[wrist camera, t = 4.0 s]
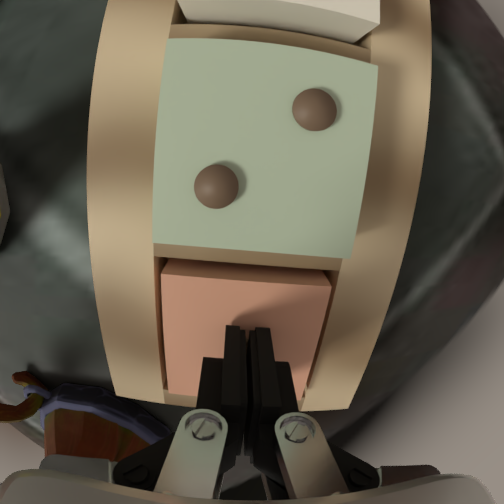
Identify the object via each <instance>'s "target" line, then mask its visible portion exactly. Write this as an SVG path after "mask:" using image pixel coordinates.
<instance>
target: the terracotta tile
mask: <svg viewBox="0 0 504 504" xmlns="http://www.w3.org/2000/svg"><path fill="white" fill-rule="evenodd" d="M331 288H332V286H331V284H330V283H329V281H328V279H327V277H326V276H325V274H324V272H323V271H322V270H321V269H308V268H294V267H281V266H267V265H255V264H242V263H229V262H217V261H205V260H193V259H181V258H169V260H168V262H167V263H166V265H165V267H164V269H163V271H162V273H161V293H162V316H163V333H164V347H165V360H166V371H167V381H168V391H169V393H171V394H180V395H188V396H198V389H199V382H200V375H201V368H202V361H203V357H212V358H224V344H225V329H226V325H234V326H240V330H245V332H246V355H247V347H248V339H249V331H250V330H253V331H255V327H265V328H270V331H271V337H272V344H273V351H274V357H275V361H284V362H289V364H290V369H291V374H292V378H293V383H294V388H295V393H296V398H297V401H299V400H301V398H302V395H303V391H304V388H305V385H306V382H307V378H308V375H309V372H310V368H311V365H312V361H313V358H314V354H315V351H316V347H317V343H318V340H319V336H320V332H321V328H322V325H323V321H324V317H325V313H326V309H327V305H328V301H329V296H330V292H331Z"/></svg>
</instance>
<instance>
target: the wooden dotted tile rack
mask: <svg viewBox="0 0 504 504" xmlns="http://www.w3.org/2000/svg"><path fill="white" fill-rule="evenodd" d="M170 38H209V39H230V40H244V41H255V42H264V43H272V44H280V45H287V46H293V47H299V48H305V49H310V50H316V51H321V52H325V53H330V54H335V55H339V56H343V57H347V58H351V59H355V60H359V61H363V62H366V63H370V64H373V65H377V66H378V77H377V90H376V102H375V112H374V121H373V130H372V138H371V146H370V153H369V161H368V167H367V174H366V180H365V186H364V192H363V198H362V204H361V209H360V215H359V220H358V225H357V230H356V235H355V240H354V245H353V249H352V254H351V258H350V259H344V258H332V257H320V256H308V255H296V254H283V253H271V252H259V251H247V250H234V249H222V248H210V247H197V246H185V245H173V244H160V243H152V205H153V173H154V154H155V139H156V126H157V114H158V104H159V95H160V86H161V78H162V70H163V63H164V56H165V49H166V43H167V39H170ZM431 59H432V43H431V15H430V0H380V24H379V25H378V26H377V27H375V28H374V29H372V30H371V31H369V32H368V33H367V34H365V35H364V36H362V37H361V38H360V39H358V40H357V41H356V42H354V43H353V44H351V43H347V42H343V41H339V40H335V39H331V38H326V37H321V36H317V35H311V34H306V33H301V32H295V31H288V30H282V29H274V28H266V27H257V26H247V25H233V24H212V23H188V22H187V20H186V17H185V15H184V13H183V11H182V9H181V7H180V5H179V3H178V1H177V0H108V4H107V8H106V12H105V16H104V20H103V25H102V30H101V35H100V40H99V45H98V50H97V56H96V63H95V69H94V76H93V84H92V92H91V102H90V113H89V126H88V144H87V211H88V230H89V244H90V255H91V265H92V274H93V282H94V290H95V297H96V303H97V310H98V316H99V321H100V327H101V332H102V337H103V342H104V347H105V352H106V356H107V361H108V365H109V369H110V374H111V378H112V381H113V385H114V389H115V393H116V396H121V397H126V398H132V399H137V400H143V401H150V402H156V403H163V404H170V405H178V406H187V407H196V404H197V396H188V395H180V394H171V393H169V391H168V381H167V371H166V360H165V347H164V333H163V316H162V293H161V273H162V271H163V269H164V267H165V265H166V263H167V262H168V260H169V258H181V259H193V260H205V261H217V262H229V263H242V264H255V265H267V266H281V267H294V268H308V269H321V270H322V271H323V272H324V274H325V276H326V277H327V279H328V281H329V283H330V284H331V286H332V288H331V292H330V296H329V301H328V305H327V309H326V313H325V317H324V321H323V325H322V328H321V332H320V336H319V340H318V343H317V347H316V351H315V354H314V358H313V361H312V365H311V368H310V372H309V375H308V378H307V382H306V385H305V388H304V391H303V395H302V398H301V400H299V401H297V403H298V409H299V411H320V410H337V409H348V407H349V405H350V403H351V401H352V398H353V396H354V394H355V392H356V390H357V387H358V385H359V383H360V380H361V378H362V376H363V373H364V371H365V369H366V366H367V364H368V361H369V359H370V356H371V354H372V351H373V348H374V346H375V343H376V341H377V338H378V335H379V332H380V330H381V327H382V324H383V321H384V318H385V315H386V312H387V309H388V306H389V303H390V300H391V297H392V294H393V291H394V287H395V284H396V281H397V277H398V274H399V270H400V267H401V263H402V260H403V256H404V252H405V248H406V244H407V240H408V236H409V232H410V228H411V223H412V219H413V214H414V209H415V205H416V200H417V194H418V189H419V183H420V178H421V172H422V165H423V159H424V152H425V144H426V136H427V127H428V117H429V105H430V89H431Z"/></svg>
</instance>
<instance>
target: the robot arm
mask: <svg viewBox="0 0 504 504" xmlns="http://www.w3.org/2000/svg"><path fill="white" fill-rule="evenodd" d="M243 434H244V454H245V456H250V463H253V464H254V467H256V468H257V469H258V470H260V471H261V473H262V480H263V484H264V487H265V491H266V495H267V499H268V501H238V500H236V501H235V500H218V499H219V495H220V490H221V486H222V481H223V477H224V473H225V472H226V471H228V470H229V469H230V468H232V467H233V466H235V460H236V455H240V453H241V446H242V440H243ZM0 504H496V502H495V500H494V498H493V497H492V495H491V493H490V492H489V490H488V489H487V487H486V486H485V485H484V484H483V483H482V482H481V481H480V480H479V479H477V478H475V477H473V476H470V475H464V474H440V472H439V470H437V468H435V467H433V466H431V465H409V466H381V467H380V468H374V467H373V466H371V465H370V464H368V463H366V462H364V461H362V460H361V459H359V458H357V457H355V456H353V455H351V454H350V453H348V452H346V451H344V450H342V449H341V448H339V447H337V446H335V445H334V444H332V443H330V442H329V441H327V440H326V439H325V437H324V434H323V432H322V430H321V428H320V425H319V424H318V422H317V421H316V420H315V419H314V418H312V417H311V416H309V415H307V414H304V413H299V409H298V403H297V398H296V393H295V388H294V383H293V378H292V374H291V369H290V364H289V362H284V361H275V357H274V351H273V344H272V337H271V331H270V328H265V327H255V331H253V330H250V331H249V339H248V347H247V355H246V332H245V330H240V326H234V325H226V329H225V344H224V358H212V357H203V361H202V368H201V375H200V382H199V389H198V396H197V404H196V410H193V411H190V412H188V413H187V414H185V415H184V416H183V417H182V419H181V421H180V423H179V426H178V428H177V431H176V432H174V433H172V434H170V435H169V436H167V437H165V438H163V439H161V440H159V441H157V442H155V443H154V444H152V445H150V446H148V447H146V448H144V449H142V450H140V451H138V452H136V453H134V454H132V455H130V456H128V457H125V458H123V459H122V460H120V461H119V462H110V461H109V459H99V458H86V457H76V456H67V455H59V454H53V455H49V456H47V457H45V458H44V459H43V460H42V461H41V464H40V467H39V469H28V470H21V471H17V472H14V473H12V474H11V475H9V476H8V477H7V478H6V479H5V480H4V481H3V482H2V484H1V485H0Z"/></svg>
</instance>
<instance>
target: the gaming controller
mask: <svg viewBox="0 0 504 504" xmlns="http://www.w3.org/2000/svg"><path fill="white" fill-rule="evenodd" d="M9 214H10V207H9V202H8V196H7V191H6V185H5V180H4V174H3V168H2V165H1V163H0V245H1V241H2V238H3V234H4V231H5V227H6V224H7V221H8V217H9Z"/></svg>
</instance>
